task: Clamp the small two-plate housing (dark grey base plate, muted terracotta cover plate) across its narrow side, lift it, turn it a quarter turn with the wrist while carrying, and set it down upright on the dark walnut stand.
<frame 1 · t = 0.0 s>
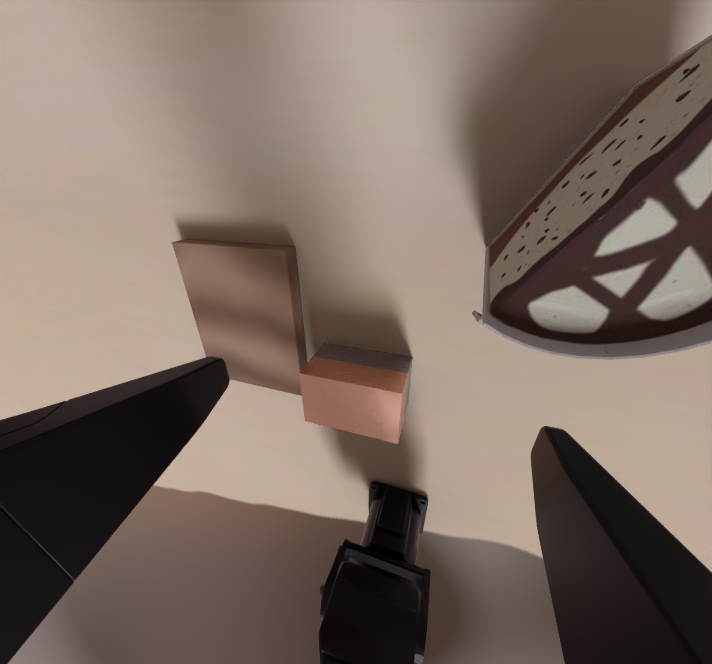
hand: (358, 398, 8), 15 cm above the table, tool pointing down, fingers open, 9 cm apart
walnut stand: (251, 317, 28), on the table
food container: (591, 211, 16), on the table
two-plate housing: (366, 372, 26), on the table
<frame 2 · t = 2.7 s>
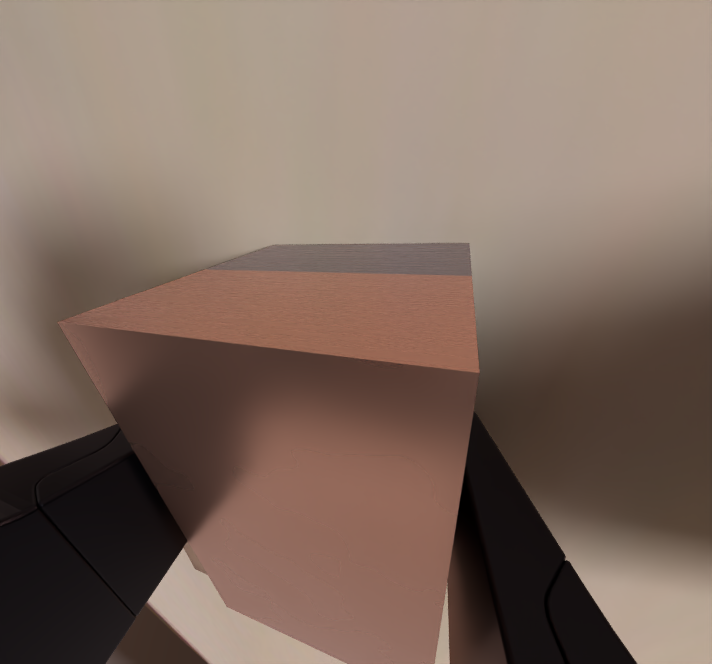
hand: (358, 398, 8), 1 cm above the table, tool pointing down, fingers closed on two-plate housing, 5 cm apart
two-plate housing: (368, 376, 9), on the table, touching gripper
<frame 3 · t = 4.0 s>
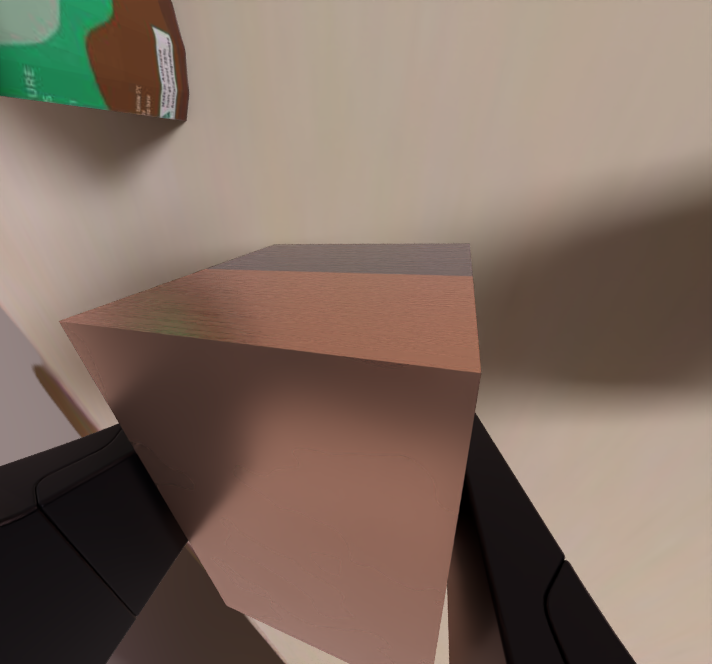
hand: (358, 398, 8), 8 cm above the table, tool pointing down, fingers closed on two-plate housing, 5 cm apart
two-plate housing: (368, 376, 9), point 7 cm above the table, touching gripper
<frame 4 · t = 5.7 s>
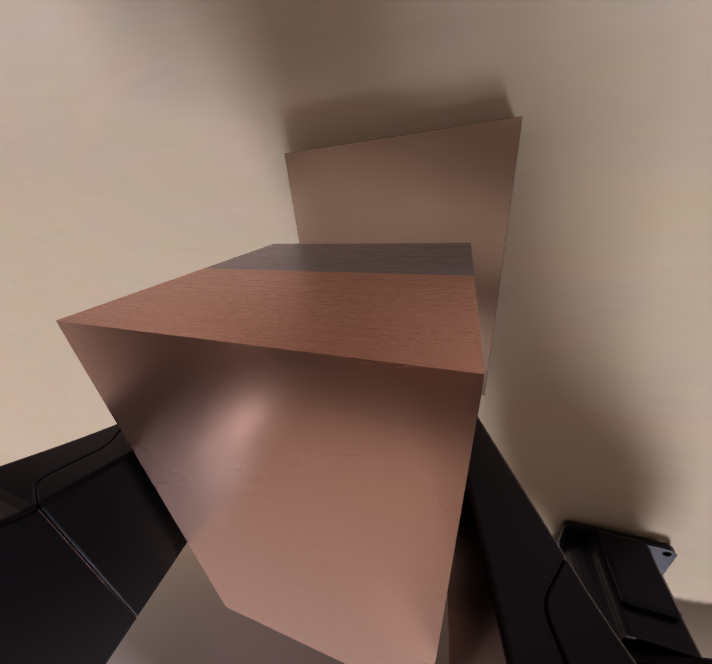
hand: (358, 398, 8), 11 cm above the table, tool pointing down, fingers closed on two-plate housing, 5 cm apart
walnut stand: (397, 276, 18), on the table
two-plate housing: (368, 376, 9), point 10 cm above the table, touching gripper
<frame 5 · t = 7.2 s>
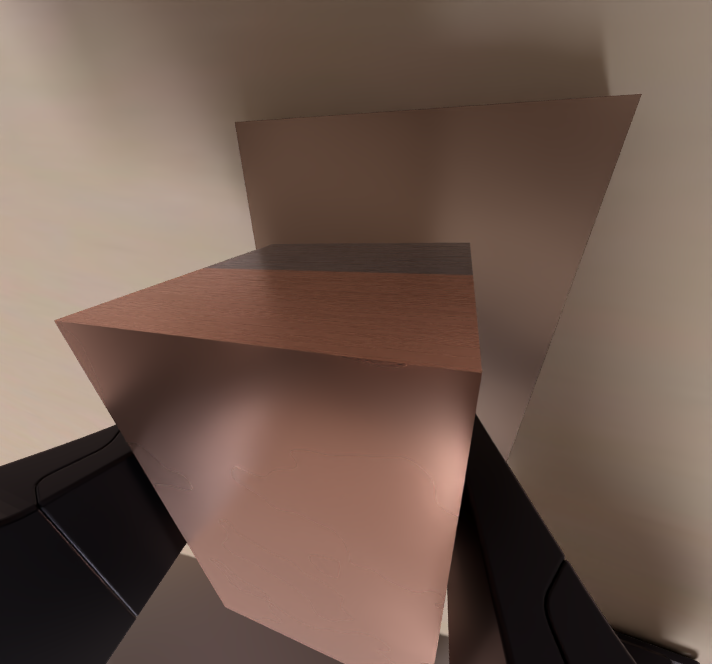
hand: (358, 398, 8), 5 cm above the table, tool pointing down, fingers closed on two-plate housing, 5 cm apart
walnut stand: (395, 316, 13), on the table
two-plate housing: (368, 376, 9), point 4 cm above the table, touching gripper
when the fingers open (4 cm above the table, at t = 8.4 s): two-plate housing drops 1 cm, resting on walnut stand.
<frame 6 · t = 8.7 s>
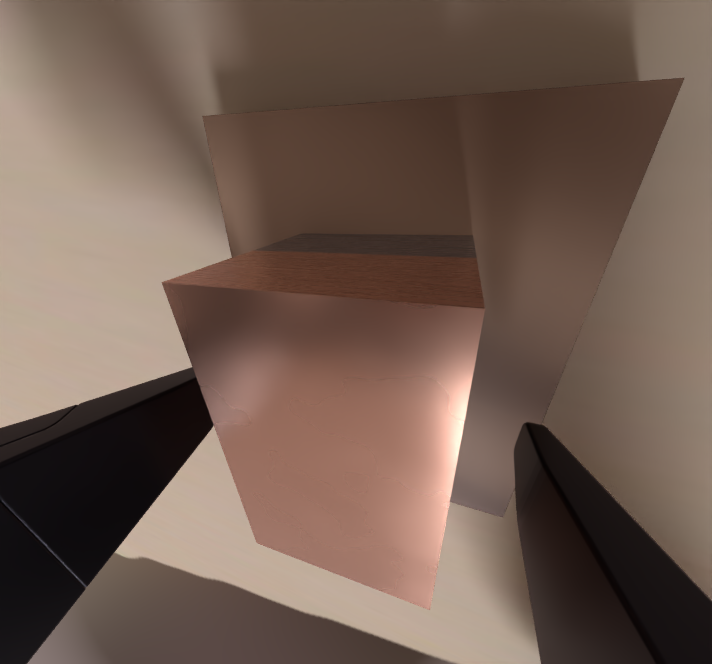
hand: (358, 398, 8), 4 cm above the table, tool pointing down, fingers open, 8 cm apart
walnut stand: (388, 333, 11), on the table
two-plate housing: (379, 352, 10), point 1 cm above the table, touching walnut stand
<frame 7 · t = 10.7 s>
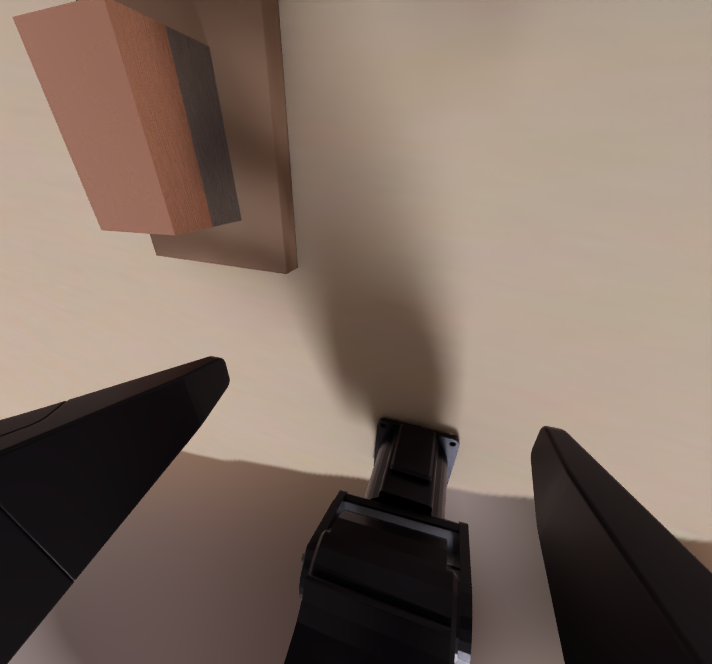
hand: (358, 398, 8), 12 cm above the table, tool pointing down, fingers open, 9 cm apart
walnut stand: (210, 146, 18), on the table
two-plate housing: (191, 145, 17), point 1 cm above the table, touching walnut stand
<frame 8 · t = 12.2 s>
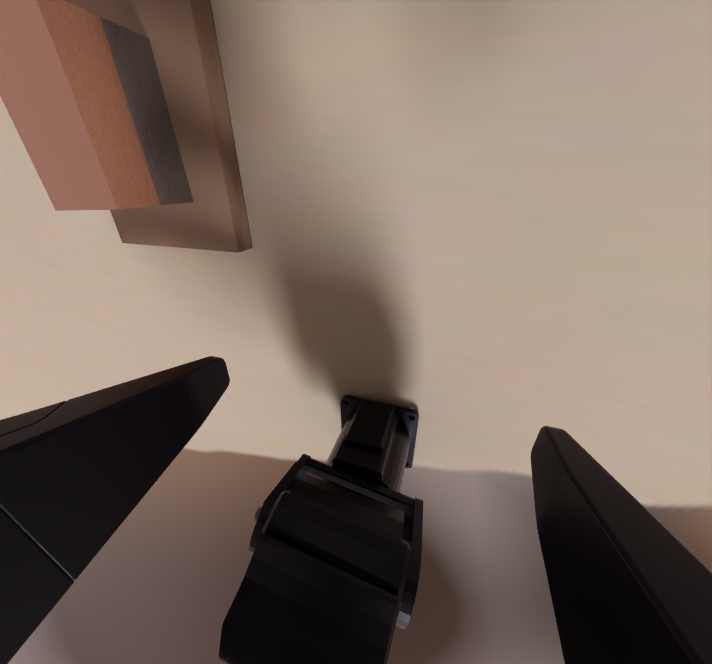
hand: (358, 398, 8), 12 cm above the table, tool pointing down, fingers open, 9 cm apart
walnut stand: (163, 135, 19), on the table
two-plate housing: (143, 132, 18), point 1 cm above the table, touching walnut stand
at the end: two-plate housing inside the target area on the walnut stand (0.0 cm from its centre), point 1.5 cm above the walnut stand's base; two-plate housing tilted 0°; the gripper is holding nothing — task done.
